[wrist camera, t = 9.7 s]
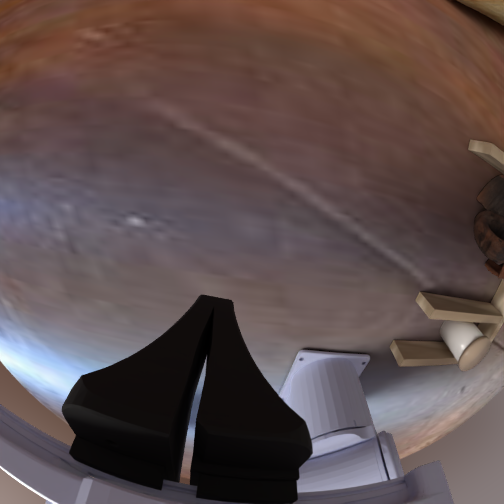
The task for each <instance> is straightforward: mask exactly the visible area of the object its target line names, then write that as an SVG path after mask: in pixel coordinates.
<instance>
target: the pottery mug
mask: <svg viewBox="0 0 504 504" xmlns="http://www.w3.org/2000/svg"><path fill="white" fill-rule="evenodd" d="M477 200H478V202H480V203H481V204H482V205H483V206H484V207H485V208H486V209H487V211H482V212H480V213H479V214H478V215H477V216H476V217H475V224H474V235H475V240H476V242H477V245H478V246H479V248H480V249H481V251H482V252H483V253H484V254H485V256H486V257H488V258H489V260H488V261H487V262H486V263H485V266H486V267H487V269H488V271H490V272H491V273H492V274H494V275H496V276H498V278H502V279H504V175H499V176H497V177H495V178H494V179H492V180H491V181H490V182H489V183H487V185H486V186H485V187H484V188H483V190H482V191H481V192H480V194H479V195H478V197H477ZM494 261H499V262H501V263H502V264H500V265H498V264H496V263H495V262H494Z"/></svg>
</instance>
